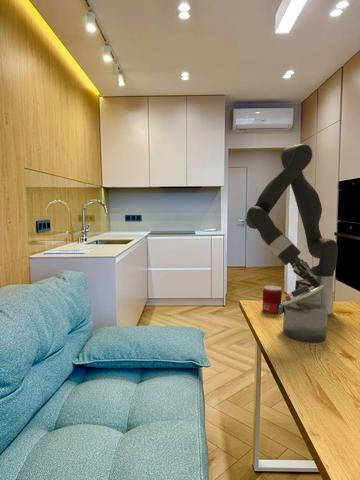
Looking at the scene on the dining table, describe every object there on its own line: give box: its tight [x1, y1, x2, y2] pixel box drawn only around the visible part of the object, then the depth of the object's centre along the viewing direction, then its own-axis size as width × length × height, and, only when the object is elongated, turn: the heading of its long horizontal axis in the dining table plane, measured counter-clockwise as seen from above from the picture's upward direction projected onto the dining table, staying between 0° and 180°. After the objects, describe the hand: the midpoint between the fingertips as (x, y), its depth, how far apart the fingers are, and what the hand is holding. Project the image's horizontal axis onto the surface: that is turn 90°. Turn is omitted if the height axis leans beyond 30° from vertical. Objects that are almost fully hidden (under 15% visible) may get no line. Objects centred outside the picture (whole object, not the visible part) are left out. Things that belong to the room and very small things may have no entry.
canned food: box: [261, 284, 283, 315], centre depth 146 cm, size 8×8×11 cm
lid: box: [281, 284, 324, 305], centre depth 120 cm, size 16×16×3 cm
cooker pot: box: [278, 302, 329, 344], centre depth 121 cm, size 17×15×10 cm
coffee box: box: [294, 279, 322, 306], centre depth 136 cm, size 9×6×16 cm
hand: (317, 286), depth 117 cm, fingers closed
